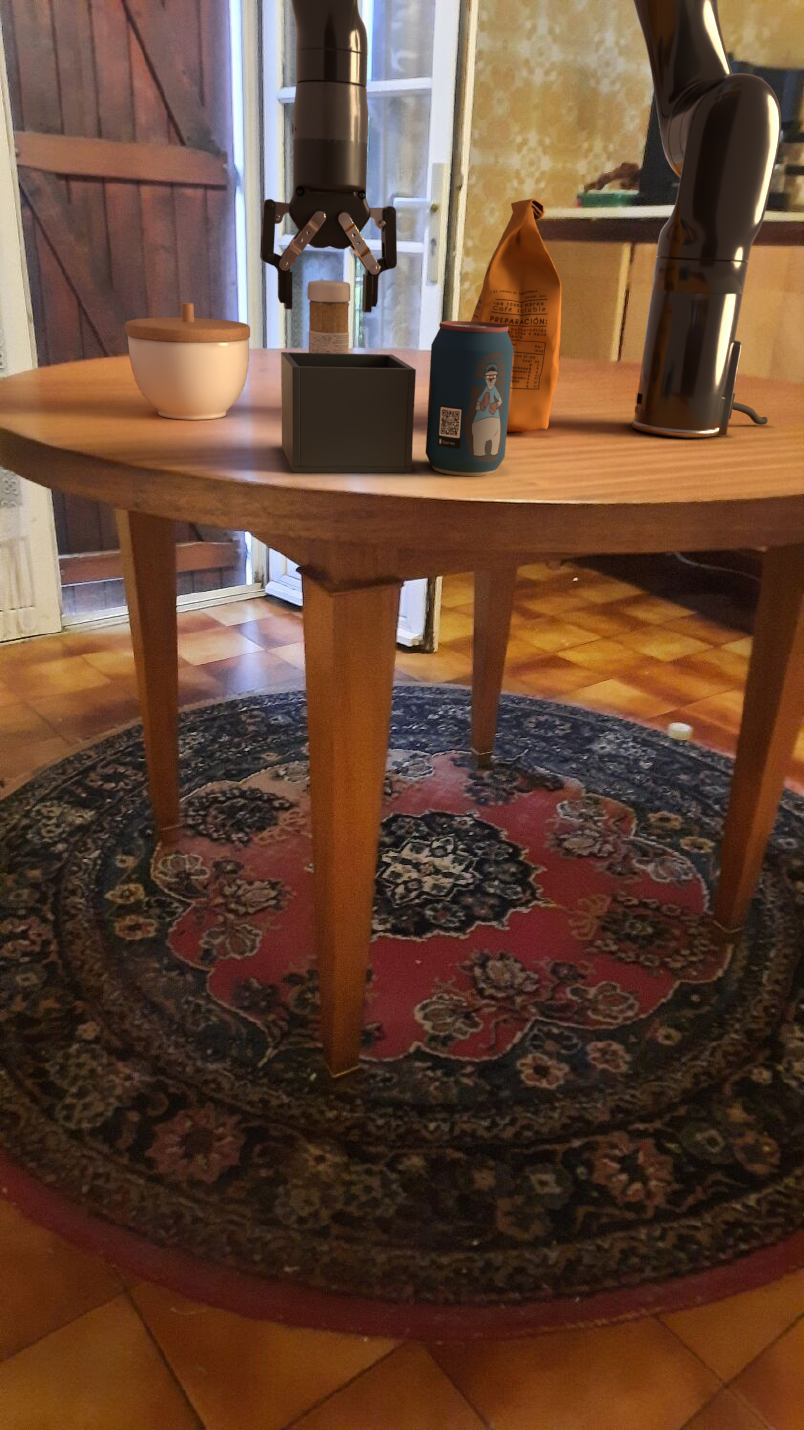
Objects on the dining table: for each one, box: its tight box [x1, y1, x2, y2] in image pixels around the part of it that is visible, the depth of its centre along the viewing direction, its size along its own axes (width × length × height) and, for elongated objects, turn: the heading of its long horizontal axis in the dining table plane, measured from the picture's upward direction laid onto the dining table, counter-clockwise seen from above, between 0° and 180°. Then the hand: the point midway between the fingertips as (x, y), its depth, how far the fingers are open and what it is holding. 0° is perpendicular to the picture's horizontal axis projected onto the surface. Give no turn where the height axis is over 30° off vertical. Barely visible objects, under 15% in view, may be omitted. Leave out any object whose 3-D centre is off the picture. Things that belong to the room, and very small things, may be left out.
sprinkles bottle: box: [307, 279, 351, 354], centre depth 112 cm, size 5×5×13 cm
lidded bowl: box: [124, 302, 251, 421], centre depth 106 cm, size 13×13×11 cm
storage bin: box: [280, 351, 417, 474], centre depth 89 cm, size 10×10×8 cm
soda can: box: [425, 320, 514, 477], centre depth 87 cm, size 7×7×12 cm
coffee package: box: [470, 197, 563, 433], centre depth 105 cm, size 10×12×22 cm
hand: (327, 310), depth 110 cm, fingers open, 8 cm apart
